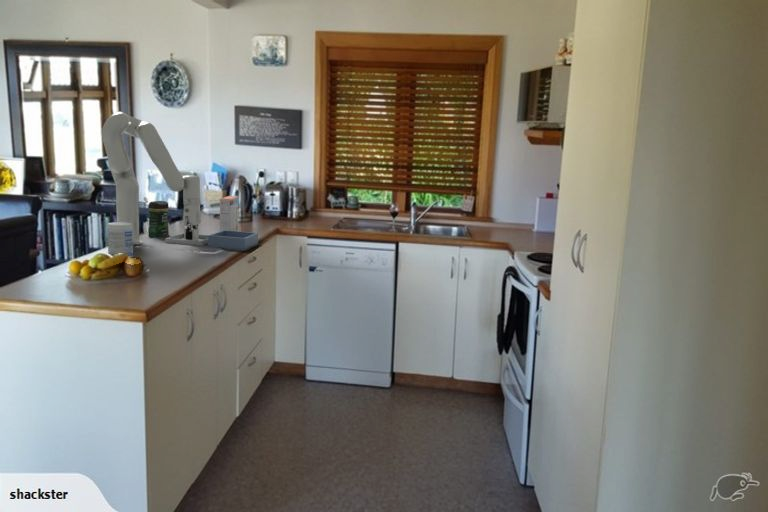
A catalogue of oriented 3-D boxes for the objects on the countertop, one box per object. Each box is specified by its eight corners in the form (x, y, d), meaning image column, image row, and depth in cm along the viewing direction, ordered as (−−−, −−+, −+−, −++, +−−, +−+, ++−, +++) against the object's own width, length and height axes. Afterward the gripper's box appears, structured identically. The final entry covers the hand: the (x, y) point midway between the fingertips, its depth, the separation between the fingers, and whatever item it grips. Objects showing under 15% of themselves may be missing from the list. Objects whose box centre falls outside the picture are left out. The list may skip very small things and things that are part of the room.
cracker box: (227, 234, 326) (227, 195, 322) (238, 235, 325) (239, 196, 321) (218, 238, 312) (219, 198, 308) (230, 239, 312) (230, 198, 308)
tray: (201, 247, 286) (201, 241, 285) (165, 244, 288) (165, 238, 287) (216, 241, 303) (216, 235, 303) (182, 238, 305) (182, 232, 305)
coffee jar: (159, 240, 299) (158, 202, 295) (145, 238, 301) (145, 200, 297) (171, 237, 308) (171, 200, 304) (158, 235, 310) (158, 199, 307)
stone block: (194, 242, 292) (194, 230, 291) (184, 241, 293) (184, 229, 292) (198, 240, 297) (198, 228, 296) (188, 239, 298) (188, 227, 297)
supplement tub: (131, 261, 249) (130, 225, 246) (106, 260, 247) (105, 224, 244) (134, 256, 258) (134, 222, 256) (110, 256, 256) (110, 221, 254)
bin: (245, 251, 284) (245, 238, 283) (208, 247, 286) (208, 235, 285) (257, 244, 302) (258, 233, 300) (223, 241, 304) (223, 230, 303)
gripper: (191, 203, 283) (191, 242, 286) (206, 200, 299) (206, 236, 303) (175, 202, 284) (176, 240, 287) (191, 199, 300) (191, 235, 304)
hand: (191, 238), depth 295 cm, fingers closed on stone block, 5 cm apart
